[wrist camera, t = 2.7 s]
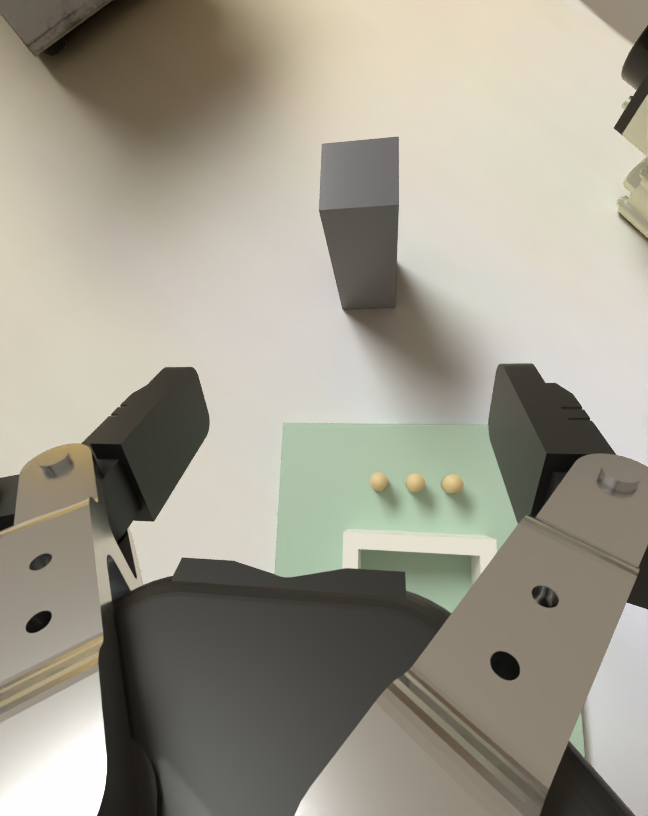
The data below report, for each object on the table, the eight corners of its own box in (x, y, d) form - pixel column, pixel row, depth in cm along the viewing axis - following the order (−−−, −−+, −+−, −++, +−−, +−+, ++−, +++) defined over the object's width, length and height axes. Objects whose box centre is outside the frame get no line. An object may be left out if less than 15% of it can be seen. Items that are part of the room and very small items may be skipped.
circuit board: (582, 830, 20) (621, 897, 17) (267, 784, 23) (246, 834, 19) (550, 428, 25) (576, 417, 21) (286, 425, 27) (272, 415, 24)
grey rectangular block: (395, 307, 28) (398, 204, 18) (342, 309, 28) (319, 210, 19) (394, 260, 28) (398, 136, 19) (343, 262, 29) (322, 144, 19)
